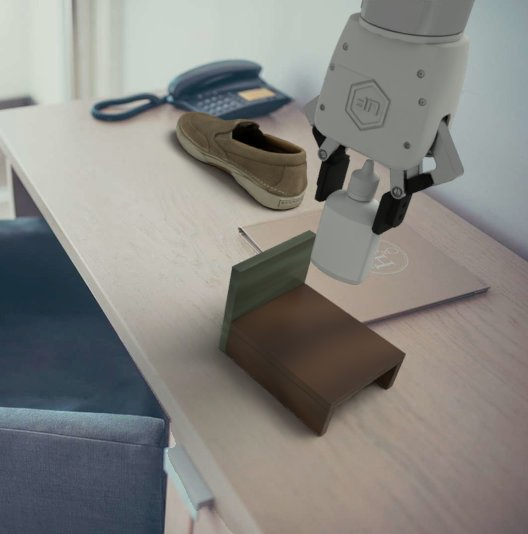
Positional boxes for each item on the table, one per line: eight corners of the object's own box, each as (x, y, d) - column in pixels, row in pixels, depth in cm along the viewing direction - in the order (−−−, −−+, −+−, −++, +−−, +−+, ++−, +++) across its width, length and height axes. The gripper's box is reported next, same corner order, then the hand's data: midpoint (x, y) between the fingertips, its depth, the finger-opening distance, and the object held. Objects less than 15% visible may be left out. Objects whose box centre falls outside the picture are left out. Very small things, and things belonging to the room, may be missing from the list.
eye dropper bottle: (332, 291, 60) (365, 180, 53) (304, 256, 64) (331, 148, 57) (373, 284, 61) (411, 174, 54) (343, 250, 65) (374, 143, 58)
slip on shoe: (164, 134, 116) (167, 87, 110) (217, 124, 120) (223, 78, 114) (257, 220, 95) (267, 166, 90) (318, 204, 99) (331, 152, 94)
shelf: (392, 385, 70) (427, 303, 63) (319, 437, 65) (348, 353, 57) (289, 308, 80) (309, 229, 72) (218, 347, 74) (231, 266, 67)
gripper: (293, -13, 51) (258, 184, 62) (499, 51, 40) (412, 275, 52) (352, -25, 55) (309, 163, 66) (556, 31, 44) (464, 244, 55)
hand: (355, 210), depth 59 cm, fingers closed on eye dropper bottle, 5 cm apart
